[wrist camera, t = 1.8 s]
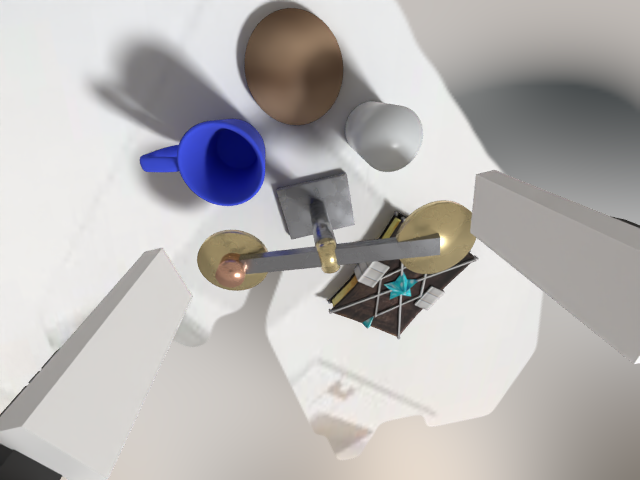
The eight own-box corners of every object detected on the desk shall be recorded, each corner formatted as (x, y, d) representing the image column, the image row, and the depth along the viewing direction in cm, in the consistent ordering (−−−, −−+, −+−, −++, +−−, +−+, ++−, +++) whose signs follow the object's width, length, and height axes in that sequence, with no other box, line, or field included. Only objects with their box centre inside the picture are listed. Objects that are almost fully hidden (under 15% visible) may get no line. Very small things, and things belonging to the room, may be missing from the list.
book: (393, 326, 55) (402, 346, 51) (325, 300, 50) (328, 320, 45) (468, 247, 47) (486, 264, 42) (395, 206, 41) (408, 220, 37)
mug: (165, 110, 31) (118, 119, 23) (268, 112, 32) (261, 121, 24) (182, 178, 35) (147, 207, 27) (272, 178, 37) (267, 205, 28)
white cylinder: (341, 107, 33) (357, 114, 25) (391, 95, 33) (422, 98, 25) (348, 158, 36) (365, 177, 29) (394, 147, 36) (423, 164, 28)
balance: (210, 204, 38) (163, 273, 24) (413, 156, 37) (488, 198, 23) (231, 250, 42) (202, 332, 28) (414, 207, 41) (478, 269, 27)
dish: (231, 24, 28) (228, 22, 27) (332, -1, 28) (333, -4, 27) (263, 132, 34) (262, 134, 32) (347, 112, 33) (349, 113, 32)
